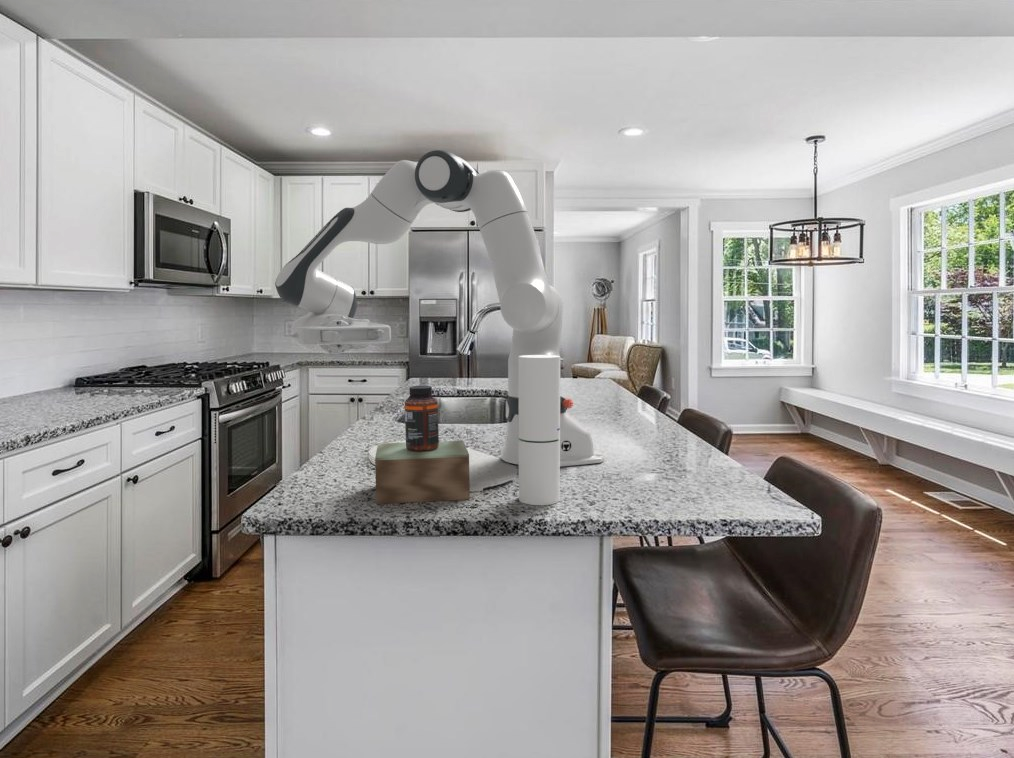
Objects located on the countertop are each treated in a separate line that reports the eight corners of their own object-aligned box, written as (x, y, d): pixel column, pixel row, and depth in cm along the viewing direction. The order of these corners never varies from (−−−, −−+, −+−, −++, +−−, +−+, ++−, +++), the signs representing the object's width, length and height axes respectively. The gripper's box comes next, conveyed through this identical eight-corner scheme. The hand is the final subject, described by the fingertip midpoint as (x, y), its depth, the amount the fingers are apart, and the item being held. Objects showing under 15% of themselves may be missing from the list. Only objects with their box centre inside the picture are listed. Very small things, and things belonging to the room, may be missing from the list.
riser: (463, 481, 123) (462, 440, 123) (469, 499, 112) (469, 454, 111) (379, 485, 121) (378, 443, 120) (376, 503, 109) (375, 457, 108)
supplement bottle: (441, 445, 118) (440, 384, 117) (435, 452, 112) (433, 388, 111) (410, 444, 119) (408, 384, 118) (401, 451, 113) (400, 388, 112)
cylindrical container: (564, 495, 114) (564, 355, 111) (553, 507, 107) (554, 358, 104) (525, 491, 116) (525, 354, 113) (513, 502, 109) (512, 357, 107)
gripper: (285, 320, 136) (311, 321, 125) (372, 319, 149) (403, 319, 138) (287, 350, 137) (313, 353, 126) (373, 346, 149) (403, 348, 139)
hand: (360, 335), depth 132 cm, fingers open, 8 cm apart
